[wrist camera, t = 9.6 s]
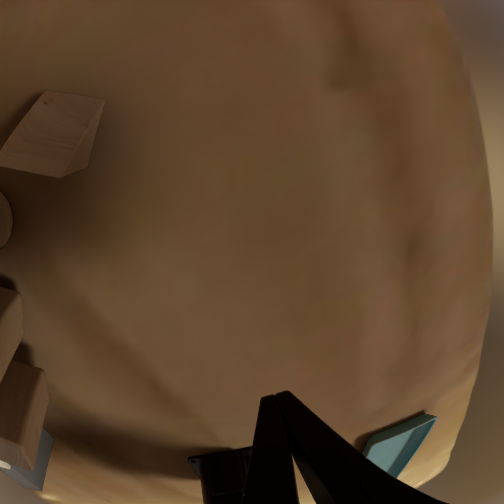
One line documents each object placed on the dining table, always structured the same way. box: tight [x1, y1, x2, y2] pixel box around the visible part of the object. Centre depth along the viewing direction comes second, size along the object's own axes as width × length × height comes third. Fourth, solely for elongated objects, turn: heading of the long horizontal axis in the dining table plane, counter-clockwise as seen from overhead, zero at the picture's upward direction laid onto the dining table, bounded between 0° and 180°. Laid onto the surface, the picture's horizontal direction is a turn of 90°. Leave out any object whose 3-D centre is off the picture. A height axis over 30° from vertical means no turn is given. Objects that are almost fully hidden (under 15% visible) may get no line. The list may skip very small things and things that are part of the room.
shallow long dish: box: [362, 414, 438, 479], centre depth 30 cm, size 26×9×2 cm, turn 2°
